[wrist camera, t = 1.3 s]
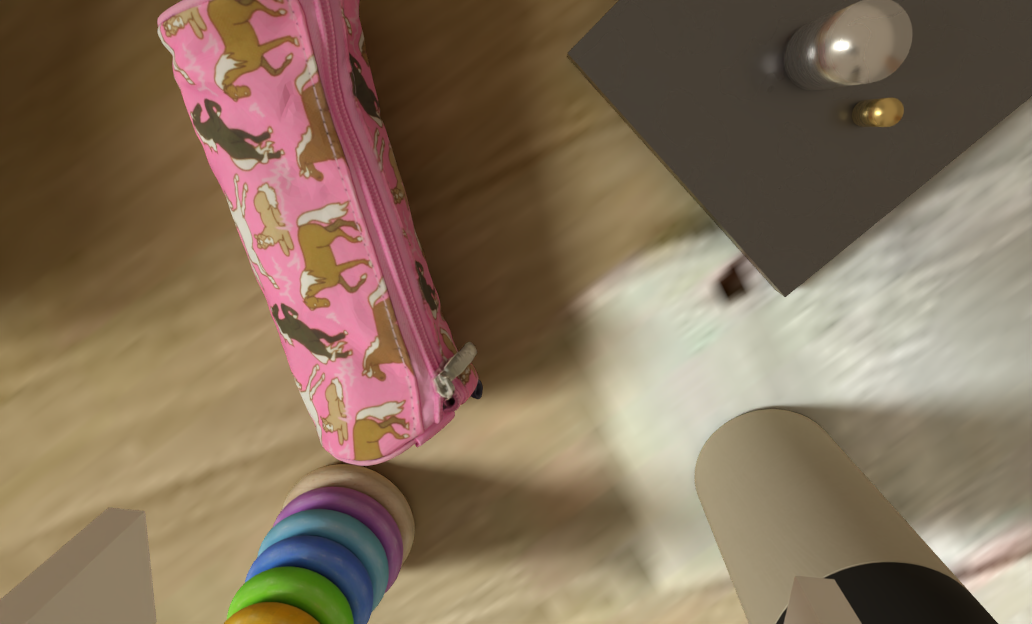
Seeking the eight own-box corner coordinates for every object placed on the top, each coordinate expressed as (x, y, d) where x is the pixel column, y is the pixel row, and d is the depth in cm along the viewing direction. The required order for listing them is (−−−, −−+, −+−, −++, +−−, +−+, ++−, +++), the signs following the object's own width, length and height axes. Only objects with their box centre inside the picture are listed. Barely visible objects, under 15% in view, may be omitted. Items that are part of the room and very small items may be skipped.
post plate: (775, 289, 33) (826, 326, 27) (566, 56, 31) (570, 38, 25) (1053, 60, 30) (1185, 43, 24) (842, -226, 27) (929, -331, 21)
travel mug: (664, 466, 37) (764, 768, 19) (776, 378, 35) (996, 625, 18) (752, 554, 38) (919, 910, 21) (865, 474, 36) (1151, 791, 19)
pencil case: (504, 373, 36) (490, 449, 27) (352, 411, 37) (292, 496, 29) (377, -32, 30) (309, -94, 22) (203, 28, 32) (75, -8, 23)
